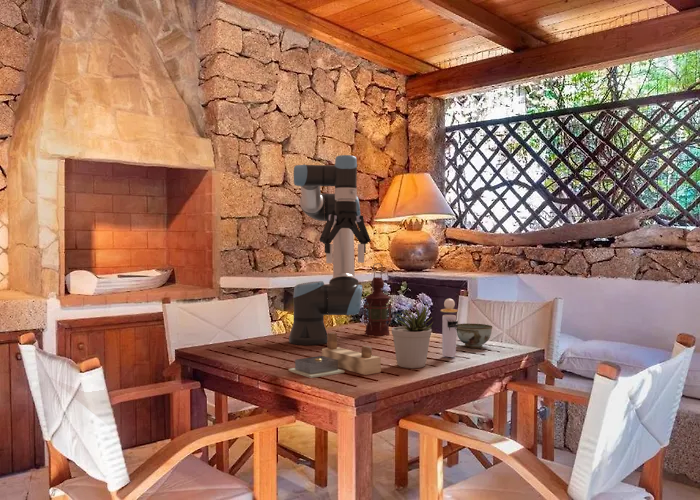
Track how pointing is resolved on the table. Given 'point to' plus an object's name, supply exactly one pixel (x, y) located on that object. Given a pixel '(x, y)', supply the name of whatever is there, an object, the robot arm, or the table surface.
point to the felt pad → (317, 373)
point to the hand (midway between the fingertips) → (345, 263)
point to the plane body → (352, 357)
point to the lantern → (377, 309)
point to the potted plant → (412, 340)
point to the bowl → (474, 334)
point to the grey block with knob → (316, 364)
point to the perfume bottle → (449, 329)
